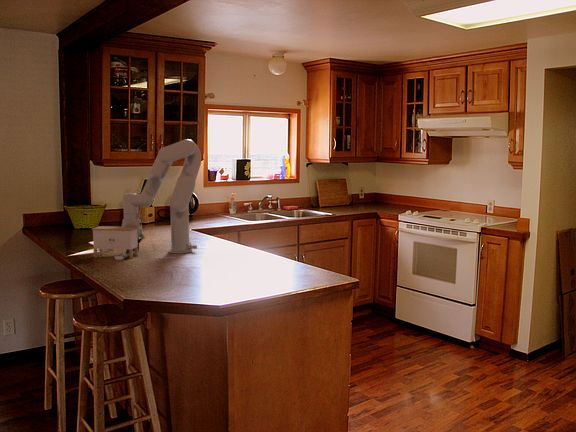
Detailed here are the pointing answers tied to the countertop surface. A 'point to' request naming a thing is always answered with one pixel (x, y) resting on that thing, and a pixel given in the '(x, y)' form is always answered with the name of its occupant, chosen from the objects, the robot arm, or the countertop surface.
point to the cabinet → (115, 239)
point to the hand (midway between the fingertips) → (132, 250)
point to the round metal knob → (119, 257)
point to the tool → (127, 253)
